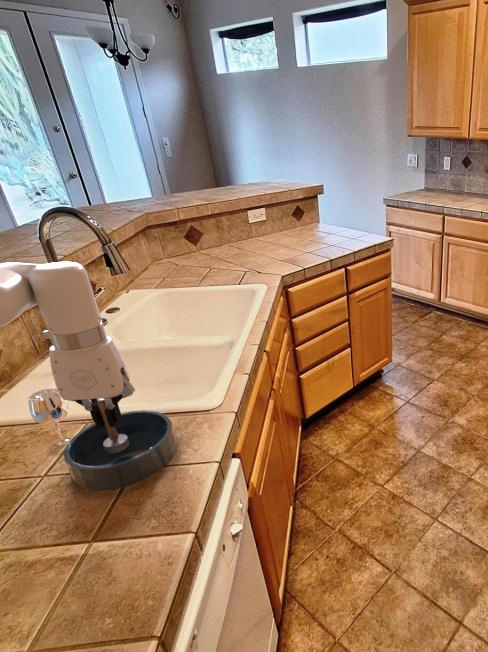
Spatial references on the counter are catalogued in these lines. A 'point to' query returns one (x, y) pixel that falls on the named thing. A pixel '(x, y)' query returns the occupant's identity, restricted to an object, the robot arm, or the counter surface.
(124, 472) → the bowl
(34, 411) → the wineglass
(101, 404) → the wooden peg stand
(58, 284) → the robot arm
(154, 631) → the counter surface
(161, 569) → the counter surface
